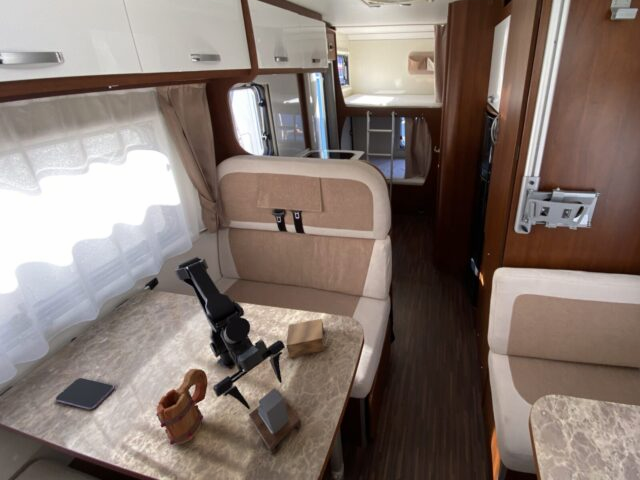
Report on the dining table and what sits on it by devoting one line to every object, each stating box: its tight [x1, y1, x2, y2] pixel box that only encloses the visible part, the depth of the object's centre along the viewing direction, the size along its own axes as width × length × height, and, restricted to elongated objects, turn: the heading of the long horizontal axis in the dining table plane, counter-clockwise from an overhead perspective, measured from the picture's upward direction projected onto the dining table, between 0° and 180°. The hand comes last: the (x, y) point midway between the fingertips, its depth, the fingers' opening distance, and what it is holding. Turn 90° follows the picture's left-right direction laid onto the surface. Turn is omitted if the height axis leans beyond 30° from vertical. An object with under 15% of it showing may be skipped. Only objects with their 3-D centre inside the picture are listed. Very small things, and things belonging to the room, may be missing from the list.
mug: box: [155, 368, 209, 446], centre depth 83 cm, size 15×8×15 cm, turn 168°
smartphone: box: [54, 377, 115, 411], centre depth 95 cm, size 7×1×15 cm
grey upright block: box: [256, 387, 289, 435], centre depth 82 cm, size 8×5×10 cm, turn 47°
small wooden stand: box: [248, 390, 302, 455], centre depth 84 cm, size 12×9×3 cm
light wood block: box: [285, 318, 325, 359], centre depth 107 cm, size 12×9×6 cm
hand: (265, 395), depth 81 cm, fingers open, 9 cm apart
